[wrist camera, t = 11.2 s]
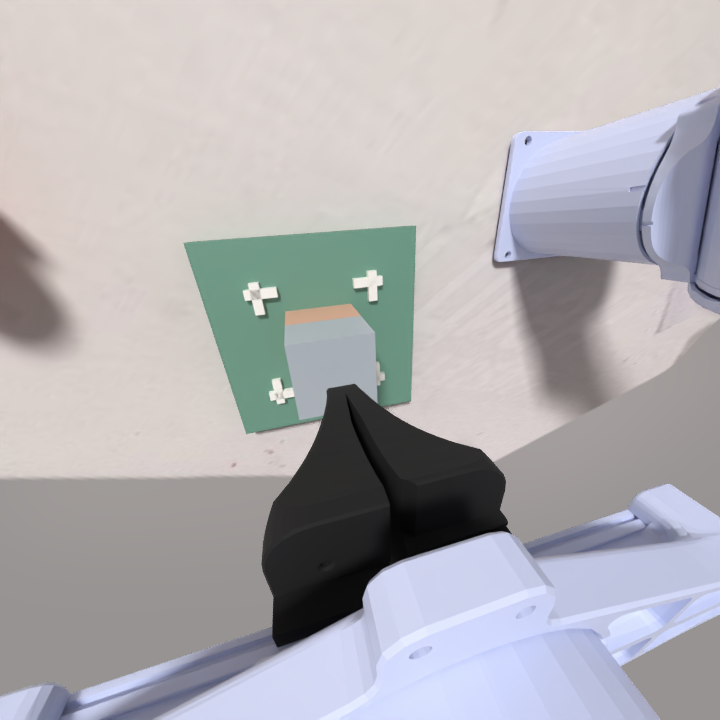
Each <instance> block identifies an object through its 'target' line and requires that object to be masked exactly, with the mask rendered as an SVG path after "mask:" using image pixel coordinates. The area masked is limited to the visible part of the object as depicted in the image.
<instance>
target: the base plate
mask: <svg viewBox="0 0 720 720" xmlns="http://www.w3.org/2000/svg"><path fill="white" fill-rule="evenodd" d="M415 242H416V226H402V227H388V228H375V229H361V230H347V231H334V232H320V233H306V234H293V235H279V236H266V237H252V238H238V239H225V240H211V241H197V242H187V243H184V246H185V249H186V252H187V255H188V258H189V261H190V264H191V267H192V270H193V273H194V276H195V279H196V282H197V285H198V288H199V292H200V295H201V298H202V301H203V304H204V307H205V310H206V313H207V316H208V319H209V322H210V325H211V328H212V331H213V334H214V337H215V340H216V343H217V346H218V349H219V352H220V355H221V358H222V361H223V364H224V367H225V370H226V373H227V376H228V379H229V382H230V385H231V388H232V392H233V395H234V398H235V401H236V404H237V407H238V410H239V413H240V416H241V419H242V422H243V425H244V428H245V431H246V434H248V433H253V432H258V431H263V430H268V429H273V428H278V427H283V426H288V425H293V424H298V423H303V422H308V421H313V420H318V419H323V416H319V417H313V418H308V419H303V420H299V416H298V411H297V406H296V401H295V396H294V391H293V386H292V381H291V376H290V371H289V366H288V362H287V357H286V352H285V347H284V337H285V312H286V311H294V310H302V309H310V308H319V307H327V306H335V305H343V304H352V306H353V307H354V308H355V309H356V310H357V312H358V313H359V314H360V315H361V316H362V318H363V319H364V320H365V321H366V322H367V324H368V325H369V326H370V327H371V328H372V330H373V331H374V332H375V346H376V374H377V402H378V404H379V405H380V406H381V407H383V406H388V405H393V404H398V403H403V402H408V401H411V377H412V344H413V310H414V276H415Z"/></svg>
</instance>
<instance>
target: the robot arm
mask: <svg viewBox="0 0 720 720" xmlns="http://www.w3.org/2000/svg"><path fill="white" fill-rule="evenodd" d="M525 139H527V144H526V145H525ZM506 253H508V254H507V256H506V257H505V254H506ZM555 256H572V257H582V258H592V259H602V260H612V261H622V262H632V263H642V264H652V265H659V267H660V271H661V279H666V280H673V281H680V282H688V293H689V295H690V298H691V299H692V300H693V301H694V302H695V303H697V304H698V305H700V306H702V307H703V308H705V309H708V310H710V311H713V312H715V313H718V314H720V87H718V88H715V89H712V90H709V91H706V92H703V93H700V94H697V95H694V96H690V97H687V98H684V99H681V100H678V101H675V102H672V103H669V104H666V105H663V106H660V107H657V108H654V109H651V110H648V111H645V112H642V113H638V114H635V115H632V116H629V117H626V118H623V119H620V120H617V121H614V122H611V123H608V124H605V125H602V126H599V127H596V128H593V129H590V130H586V131H522V132H519V133H517V134H516V135H514V137H513V138H512V141H511V147H510V154H509V160H508V167H507V173H506V180H505V186H504V193H503V199H502V206H501V212H500V219H499V225H498V232H497V238H496V245H495V251H494V260H495V261H496V262H508V261H517V260H527V259H536V258H546V257H555ZM326 393H327V401H326V407H325V411H324V416H323V419H322V422H321V425H320V428H319V431H318V434H317V436H316V438H315V441H314V443H313V445H312V447H311V449H310V451H309V453H308V455H307V456H306V458H305V460H304V462H303V463H302V465H301V466H300V468H299V469H298V471H297V472H296V474H295V475H294V477H293V478H292V480H291V481H290V483H289V484H288V485H287V486H286V487H285V489H284V490H283V491H282V492H281V493H280V495H279V496H278V497H277V498H276V500H275V501H274V502H273V505H272V508H271V511H270V514H269V518H268V522H267V526H266V530H265V536H264V541H263V552H262V569H263V573H264V575H265V578H266V580H267V583H268V585H269V587H270V590H271V592H272V594H273V597H274V599H273V600H274V601H273V626H272V627H270V628H267V629H264V630H261V631H258V632H255V633H252V634H249V635H246V636H243V637H240V638H237V639H234V640H231V641H228V642H225V643H222V644H219V645H215V646H212V647H209V648H206V649H204V650H201V651H197V652H194V653H191V654H188V655H185V656H183V657H179V658H176V659H173V660H171V661H167V662H164V663H161V664H158V665H155V666H152V667H149V668H146V669H143V670H140V671H137V672H134V673H131V674H128V675H125V676H122V677H119V678H116V679H113V680H110V681H107V682H104V683H101V684H98V685H95V686H92V687H88V688H85V689H83V690H79V691H76V692H73V693H70V692H69V691H68V690H67V689H66V687H64V686H63V685H61V684H58V683H55V682H47V683H40V684H35V685H32V686H29V687H26V688H23V689H19V690H16V691H13V692H10V693H7V694H4V695H0V720H660V718H659V717H658V716H657V714H656V713H655V712H654V710H653V709H652V708H651V706H650V705H649V704H648V702H647V701H646V700H645V699H644V697H643V696H642V694H641V693H640V692H639V690H638V689H637V688H636V687H635V685H634V684H633V683H632V681H631V680H630V679H629V677H628V676H627V675H626V673H625V672H624V671H623V669H622V668H621V667H620V666H622V665H623V664H625V663H627V662H629V661H631V660H633V659H634V658H636V657H638V656H640V655H642V654H644V653H646V652H647V651H649V650H651V649H653V648H655V647H657V646H659V645H660V644H662V643H664V642H666V641H668V640H670V639H672V638H674V637H676V636H677V635H679V634H681V633H683V632H685V631H687V630H689V629H691V628H693V627H695V626H697V625H699V624H701V623H703V622H705V621H707V620H709V619H711V618H713V617H715V616H718V615H720V517H718V516H717V515H715V514H714V513H712V512H711V511H709V510H708V509H706V508H705V507H703V506H702V505H700V504H699V503H697V502H696V501H694V500H693V499H691V498H690V497H689V496H687V495H685V494H684V493H683V492H681V491H680V490H678V489H676V488H675V487H674V486H672V485H670V484H662V485H659V486H656V487H653V488H650V489H646V490H644V491H641V492H639V493H638V494H637V495H635V496H634V498H633V499H632V500H631V502H630V504H629V506H628V509H627V510H624V511H621V512H618V513H615V514H612V515H609V516H606V517H603V518H600V519H597V520H594V521H590V522H587V523H584V524H582V525H579V526H575V527H572V528H570V529H566V530H563V531H560V532H557V533H554V534H551V535H548V536H545V537H542V538H539V539H536V540H533V541H530V542H528V543H524V544H522V543H521V541H520V540H519V539H518V537H516V536H514V535H512V534H511V532H510V531H509V529H508V528H507V527H506V525H507V524H508V521H507V519H506V517H505V516H504V515H503V513H502V512H501V511H500V507H501V503H502V499H503V495H504V492H505V484H506V480H505V477H504V474H503V473H502V472H501V471H500V470H499V469H498V468H497V466H496V465H495V464H494V463H493V462H492V460H491V459H490V458H489V457H488V456H487V455H486V454H485V453H484V452H483V451H482V450H481V449H477V448H474V447H470V446H466V445H462V444H458V443H455V442H452V441H449V440H446V439H443V438H440V437H437V436H435V435H432V434H429V433H427V432H425V431H423V430H420V429H418V428H416V427H414V426H412V425H410V424H408V423H406V422H404V421H403V420H401V419H399V418H397V417H396V416H394V415H393V414H391V413H390V412H388V411H387V410H386V409H384V408H383V407H381V406H380V405H379V404H378V403H376V402H375V401H374V400H373V399H371V398H370V397H369V396H368V395H367V394H366V393H365V392H364V391H362V390H361V389H360V388H359V387H358V386H357V385H356V384H350V385H344V386H339V387H333V388H328V390H327V391H326Z"/></svg>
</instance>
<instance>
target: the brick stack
mask: <svg viewBox="0 0 720 720" xmlns="http://www.w3.org/2000/svg"><path fill="white" fill-rule="evenodd" d="M284 347H285V352H286V357H287V362H288V366H289V371H290V376H291V381H292V386H293V391H294V396H295V401H296V406H297V411H298V416H299V420H303V419H308V418H313V417H319V416H324V411H325V407H326V401H327V393H326V391H327V390H328V388H333V387H339V386H344V385H350V384H356V385H357V386H358V387H359V388H360V389H361V390H362V391H364V392H365V393H366V394H367V395H368V396H369V397H370V398H371V399H373V400H374V401H375V402H376V403H378V402H377V374H376V346H375V332H374V331H373V330H372V328H371V327H370V326H369V325H368V324H367V322H366V321H365V320H364V319H363V318H362V316H361V315H360V314H359V313H358V312H357V310H356V309H355V308H354V307H353V306H352V304H343V305H335V306H327V307H319V308H310V309H302V310H294V311H286V312H285V337H284Z"/></svg>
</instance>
